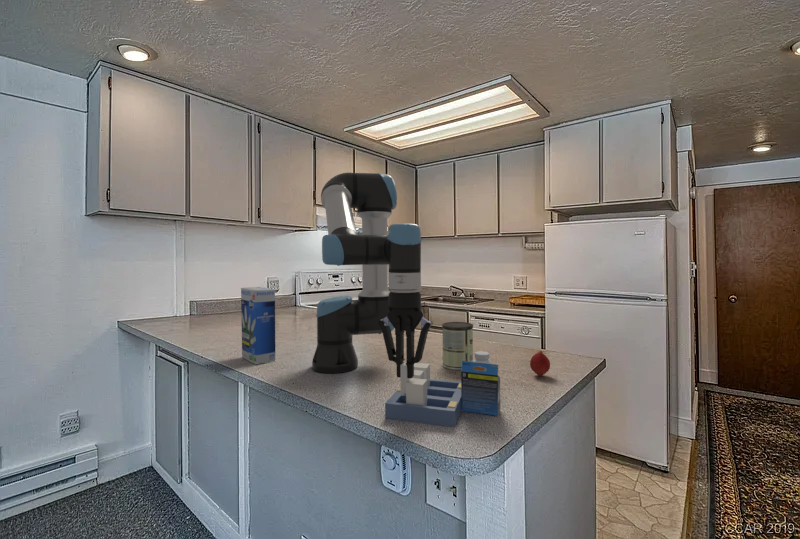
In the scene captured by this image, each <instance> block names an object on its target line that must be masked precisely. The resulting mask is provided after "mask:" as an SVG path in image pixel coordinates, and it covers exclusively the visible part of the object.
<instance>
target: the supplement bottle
mask: <svg viewBox="0 0 800 539" xmlns="http://www.w3.org/2000/svg"><path fill="white" fill-rule="evenodd" d="M473 362H478V363H486V364H493V363H492V361H491V360H490V352H488V351H479V350H478V351H475V352H474V359H473ZM473 369H474V370H481V371H485V368H481V367H480V366H478V367H473Z"/></svg>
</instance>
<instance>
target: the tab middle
mask: <svg viewBox="0 0 800 539" xmlns="http://www.w3.org/2000/svg"><path fill="white" fill-rule="evenodd" d="M412 378H416V379H424V371H420V370H414V376H413V377H412Z"/></svg>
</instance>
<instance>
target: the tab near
mask: <svg viewBox="0 0 800 539" xmlns="http://www.w3.org/2000/svg"><path fill="white" fill-rule="evenodd" d="M406 404H414V405H423V406H427V379H416V378H410V380H409V381H408V382H407V383H406Z"/></svg>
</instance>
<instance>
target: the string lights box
mask: <svg viewBox="0 0 800 539" xmlns="http://www.w3.org/2000/svg"><path fill="white" fill-rule="evenodd" d="M240 298H241V299H240V301H241V303H240V305H241V310H240V311H241V312H240V313H241V358H243V359H244V360H246V361H249V362H250V363H253V364H254V365H256V364H257V365H261V364H260V363H263V364H266V363H265V362H268V363H271V362H270V361H273V362H276V361H275V360H276V289H273V288H272V289H271V288H267V287H262V286H250V287H241V288H240Z"/></svg>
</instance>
